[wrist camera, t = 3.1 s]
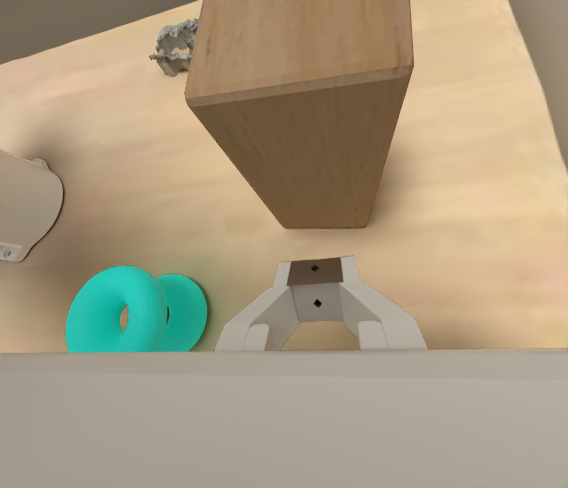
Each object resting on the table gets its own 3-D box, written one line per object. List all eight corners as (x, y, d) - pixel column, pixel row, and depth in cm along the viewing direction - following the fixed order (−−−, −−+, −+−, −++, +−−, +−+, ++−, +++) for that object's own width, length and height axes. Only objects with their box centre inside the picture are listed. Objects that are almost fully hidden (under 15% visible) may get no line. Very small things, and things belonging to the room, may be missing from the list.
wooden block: (366, 151, 30) (406, -115, 11) (366, 228, 27) (418, 63, 9) (287, 157, 32) (208, -51, 13) (282, 228, 30) (177, 99, 11)
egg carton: (164, 81, 42) (145, 59, 38) (169, 48, 44) (152, 23, 40) (219, 67, 40) (205, 42, 36) (222, 33, 41) (209, 5, 37)
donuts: (156, 367, 19) (55, 394, 20) (218, 346, 28) (146, 365, 30) (145, 249, 22) (57, 281, 23) (204, 266, 31) (140, 287, 33)
